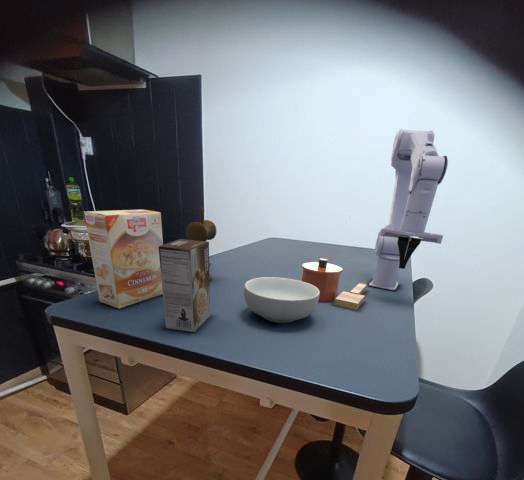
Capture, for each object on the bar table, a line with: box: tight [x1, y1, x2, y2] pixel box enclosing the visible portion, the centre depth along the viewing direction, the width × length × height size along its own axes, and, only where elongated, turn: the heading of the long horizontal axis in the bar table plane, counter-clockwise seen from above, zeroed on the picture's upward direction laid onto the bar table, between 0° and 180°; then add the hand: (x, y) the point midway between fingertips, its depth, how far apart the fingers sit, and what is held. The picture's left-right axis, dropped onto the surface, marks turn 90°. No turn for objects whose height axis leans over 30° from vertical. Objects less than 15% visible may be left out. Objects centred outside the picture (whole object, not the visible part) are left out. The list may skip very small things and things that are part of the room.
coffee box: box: [159, 238, 211, 333], centre depth 63 cm, size 9×6×16 cm
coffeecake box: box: [83, 209, 164, 310], centre depth 73 cm, size 15×7×20 cm, turn 151°
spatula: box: [333, 282, 368, 311], centre depth 88 cm, size 19×6×2 cm, turn 152°
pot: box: [301, 268, 342, 302], centre depth 87 cm, size 10×10×8 cm
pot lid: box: [301, 258, 343, 274], centre depth 85 cm, size 11×11×3 cm
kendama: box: [185, 206, 218, 281], centre depth 90 cm, size 6×10×20 cm, turn 169°
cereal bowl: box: [243, 276, 320, 324], centre depth 71 cm, size 17×17×7 cm
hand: (401, 267), depth 84 cm, fingers closed
